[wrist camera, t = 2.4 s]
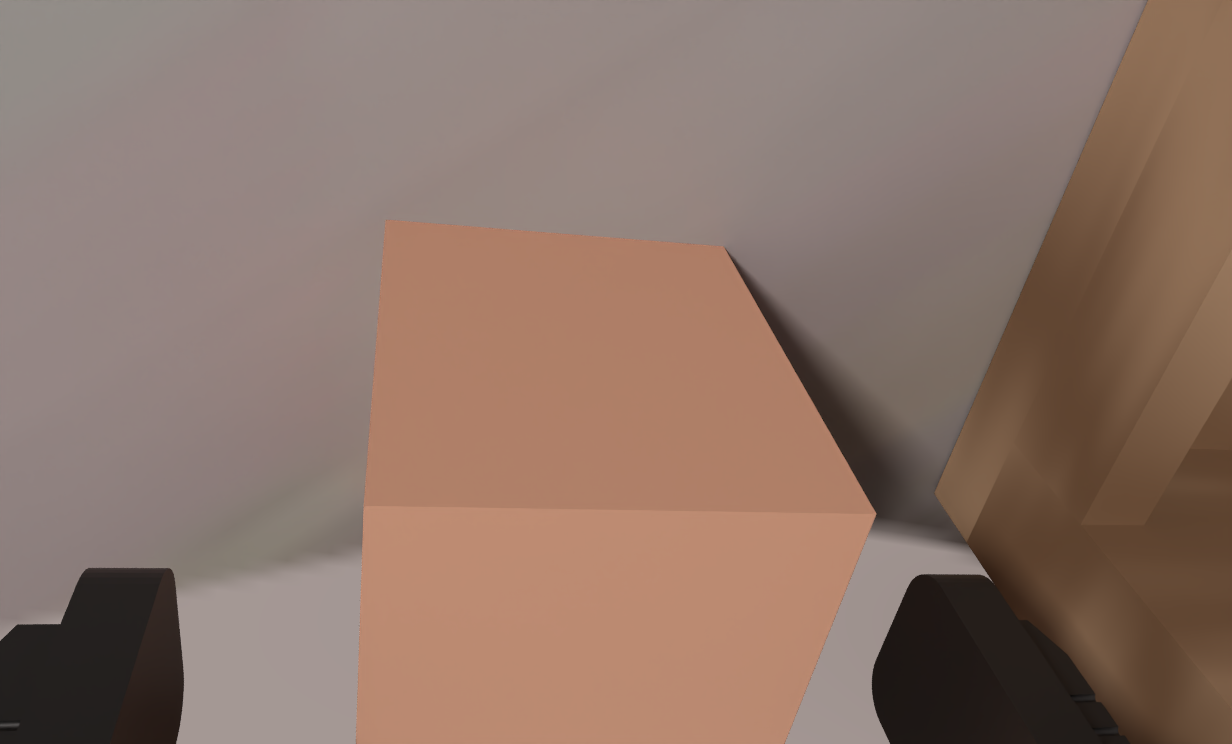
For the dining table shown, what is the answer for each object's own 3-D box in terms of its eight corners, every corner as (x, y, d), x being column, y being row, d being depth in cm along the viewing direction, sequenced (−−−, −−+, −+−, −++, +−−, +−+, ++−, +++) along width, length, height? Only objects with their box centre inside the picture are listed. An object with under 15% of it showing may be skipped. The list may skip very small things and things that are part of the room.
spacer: (385, 217, 12) (364, 505, 8) (722, 245, 13) (876, 513, 9) (374, 491, 15) (353, 833, 10) (661, 497, 16) (757, 811, 11)
